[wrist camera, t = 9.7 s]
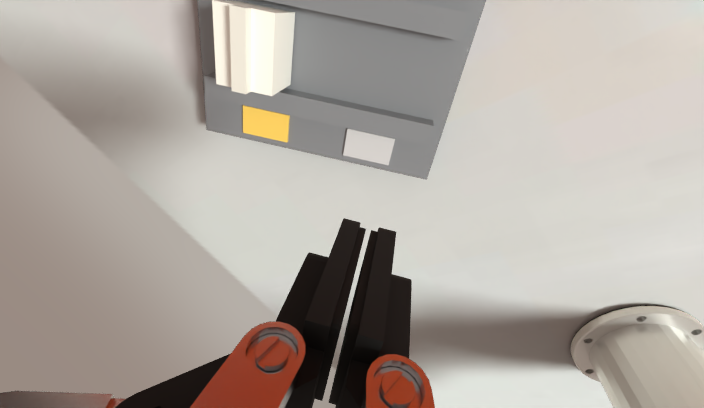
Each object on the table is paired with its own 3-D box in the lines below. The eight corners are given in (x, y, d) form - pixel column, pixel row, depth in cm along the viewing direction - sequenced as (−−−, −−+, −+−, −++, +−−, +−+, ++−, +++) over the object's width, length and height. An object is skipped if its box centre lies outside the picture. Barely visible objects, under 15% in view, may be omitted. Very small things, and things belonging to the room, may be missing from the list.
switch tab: (295, 12, 23) (270, 13, 19) (290, 84, 26) (267, 99, 22) (241, 1, 23) (205, -1, 19) (241, 74, 26) (210, 86, 22)
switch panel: (495, -46, 22) (508, -55, 19) (425, 169, 30) (427, 187, 27) (206, -102, 22) (174, -118, 19) (217, 123, 31) (197, 135, 28)
